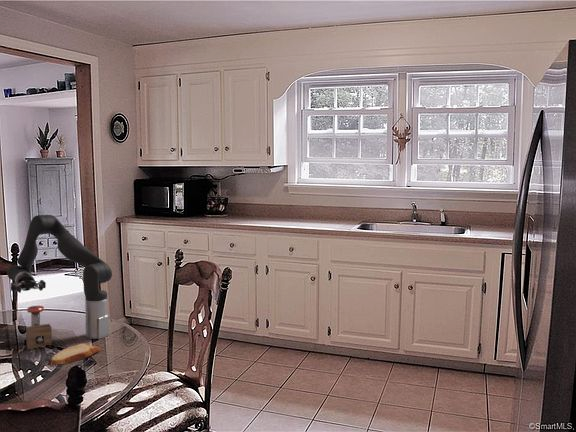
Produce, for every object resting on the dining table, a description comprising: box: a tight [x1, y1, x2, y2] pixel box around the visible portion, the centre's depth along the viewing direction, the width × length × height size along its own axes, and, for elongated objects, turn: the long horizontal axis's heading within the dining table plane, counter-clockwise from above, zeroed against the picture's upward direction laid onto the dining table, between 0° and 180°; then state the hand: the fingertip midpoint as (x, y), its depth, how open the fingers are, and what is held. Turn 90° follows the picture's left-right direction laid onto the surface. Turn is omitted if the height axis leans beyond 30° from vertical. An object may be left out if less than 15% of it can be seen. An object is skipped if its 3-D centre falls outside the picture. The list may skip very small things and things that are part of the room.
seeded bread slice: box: [49, 342, 101, 365], centre depth 210 cm, size 18×18×4 cm
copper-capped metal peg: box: [26, 305, 45, 343], centre depth 222 cm, size 14×6×14 cm, turn 35°
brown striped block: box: [25, 323, 53, 351], centre depth 219 cm, size 5×9×8 cm, turn 125°
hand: (30, 289), depth 232 cm, fingers open, 8 cm apart
